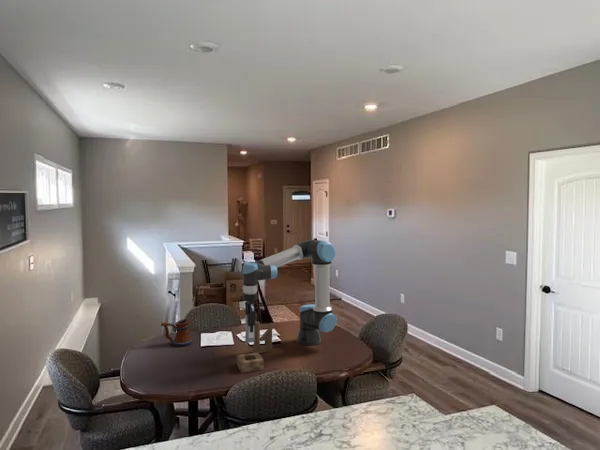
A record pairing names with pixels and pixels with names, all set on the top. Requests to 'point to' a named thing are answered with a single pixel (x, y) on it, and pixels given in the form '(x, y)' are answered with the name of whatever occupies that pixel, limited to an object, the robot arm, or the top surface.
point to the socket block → (250, 362)
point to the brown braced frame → (265, 337)
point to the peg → (247, 330)
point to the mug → (179, 333)
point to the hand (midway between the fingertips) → (250, 336)
